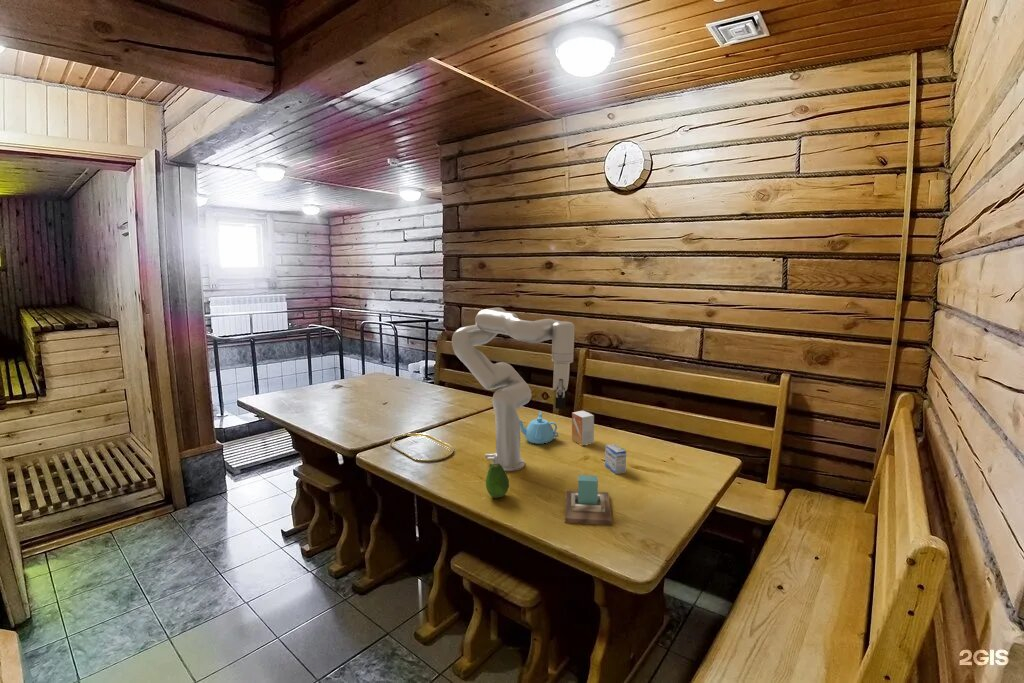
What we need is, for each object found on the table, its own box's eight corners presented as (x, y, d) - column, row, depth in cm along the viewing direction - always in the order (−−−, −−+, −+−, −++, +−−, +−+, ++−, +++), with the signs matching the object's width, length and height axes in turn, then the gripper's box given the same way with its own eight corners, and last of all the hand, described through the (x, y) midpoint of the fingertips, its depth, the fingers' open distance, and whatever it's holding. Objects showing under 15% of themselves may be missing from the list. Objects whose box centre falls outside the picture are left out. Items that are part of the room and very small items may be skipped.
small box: (571, 440, 214) (571, 412, 212) (583, 438, 216) (583, 410, 214) (581, 446, 207) (582, 417, 204) (594, 443, 209) (594, 415, 207)
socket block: (565, 522, 147) (565, 513, 146) (566, 494, 164) (566, 486, 164) (611, 525, 145) (612, 515, 144) (608, 496, 163) (608, 487, 162)
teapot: (563, 440, 214) (563, 418, 212) (537, 449, 204) (537, 426, 203) (540, 432, 225) (540, 411, 223) (515, 439, 216) (515, 417, 214)
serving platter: (419, 433, 227) (419, 430, 227) (462, 454, 201) (462, 451, 201) (382, 443, 215) (382, 440, 215) (423, 467, 189) (423, 463, 189)
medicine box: (604, 466, 186) (604, 445, 185) (614, 464, 188) (615, 443, 187) (615, 474, 179) (616, 452, 178) (626, 472, 181) (626, 450, 179)
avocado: (481, 497, 164) (480, 463, 162) (498, 489, 169) (497, 457, 167) (497, 505, 158) (496, 470, 156) (514, 496, 164) (513, 463, 162)
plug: (578, 507, 153) (578, 480, 152) (578, 500, 157) (578, 474, 155) (597, 508, 152) (597, 481, 151) (596, 501, 156) (597, 475, 155)
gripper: (553, 351, 177) (552, 396, 180) (549, 362, 160) (548, 411, 163) (574, 352, 176) (572, 397, 179) (572, 363, 159) (570, 412, 162)
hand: (560, 404), depth 171 cm, fingers open, 9 cm apart
